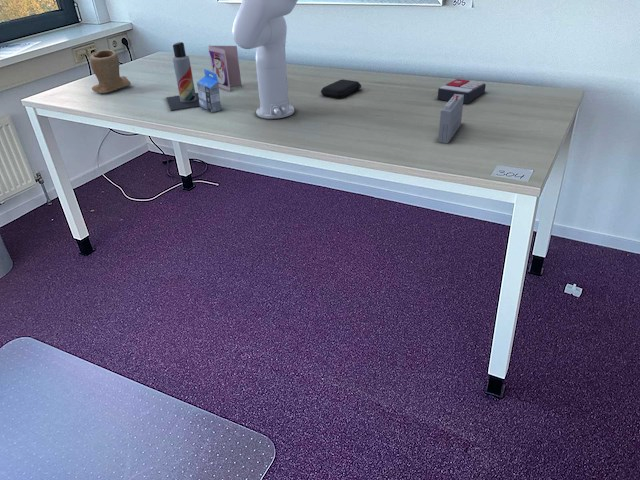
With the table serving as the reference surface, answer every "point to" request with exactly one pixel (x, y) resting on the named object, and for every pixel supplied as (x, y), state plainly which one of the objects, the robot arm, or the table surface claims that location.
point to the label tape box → (209, 92)
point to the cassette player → (450, 118)
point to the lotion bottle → (183, 74)
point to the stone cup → (107, 71)
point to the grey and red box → (461, 90)
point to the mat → (178, 105)
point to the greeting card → (225, 65)
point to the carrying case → (341, 88)
